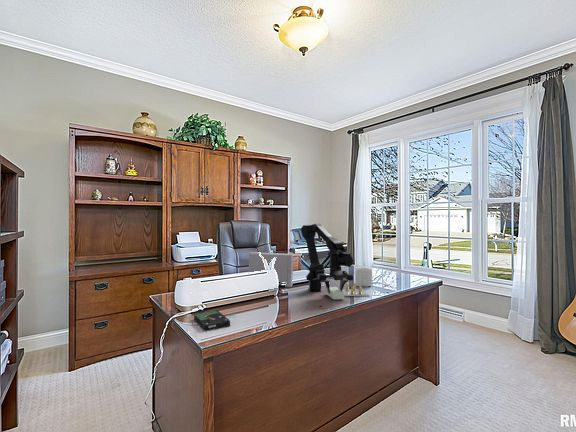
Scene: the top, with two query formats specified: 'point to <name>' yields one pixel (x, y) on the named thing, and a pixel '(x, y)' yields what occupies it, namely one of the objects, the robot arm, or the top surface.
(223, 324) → the disk drive
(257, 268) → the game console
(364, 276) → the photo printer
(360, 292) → the chassis
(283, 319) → the top surface
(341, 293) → the pale green block
